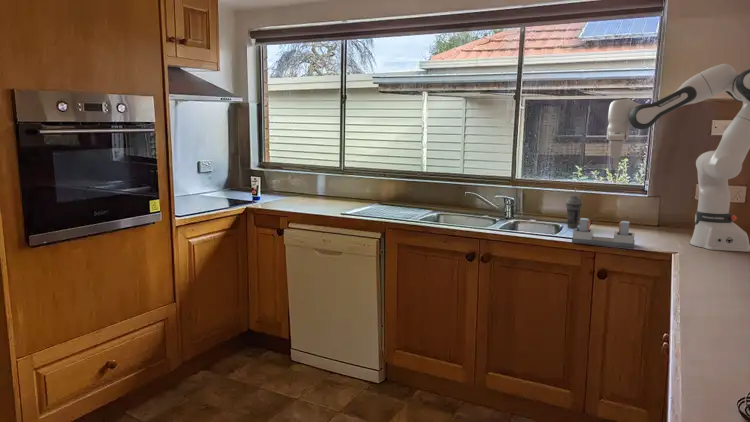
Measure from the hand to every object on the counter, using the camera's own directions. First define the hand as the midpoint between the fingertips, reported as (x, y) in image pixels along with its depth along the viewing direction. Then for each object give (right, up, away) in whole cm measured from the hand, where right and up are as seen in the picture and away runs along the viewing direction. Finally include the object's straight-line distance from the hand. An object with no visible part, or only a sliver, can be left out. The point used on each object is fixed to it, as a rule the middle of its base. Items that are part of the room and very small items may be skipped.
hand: (615, 167), depth 237 cm
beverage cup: (-10, -28, +25) cm, 39 cm away
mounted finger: (-3, -32, -14) cm, 35 cm away
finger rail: (-10, -33, -10) cm, 36 cm away
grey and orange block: (-17, -31, -7) cm, 36 cm away
